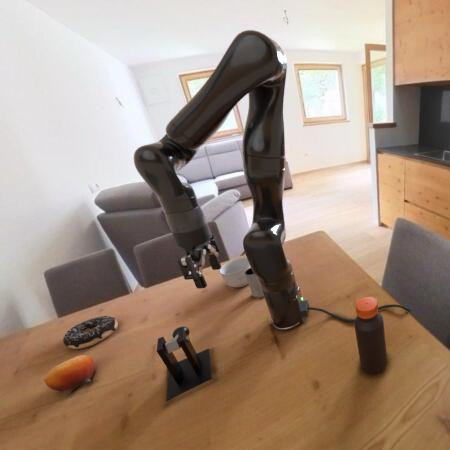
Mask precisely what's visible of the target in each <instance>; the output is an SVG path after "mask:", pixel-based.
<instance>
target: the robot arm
mask: <svg viewBox="0 0 450 450" xmlns="http://www.w3.org/2000/svg"><path fill="white" fill-rule="evenodd" d="M287 71H288V61H287V58H286V54H285V52H284V50H283V48H282V47H281V45H279V44H278V42H277V41H275V40H273V39H272V38H271V37H270V36H268V35H266V34H265V33H263V32H261V31H258V30H255V29H247V30H243V31H241V32H239V33H238V34H237V35H235V37H234V38H233V39H232V41H231V43H230V44H229V46H228V47H227V49H226V50H225V53H224V54H223V55H222V58H220V61H219V62H218V64H217V65H216V67H215V68H214V70H213V72H212V73H211V74H210V76H209V77H208V78H207V80H206V81H205V82H204V84H203V85H202V86H201V87H200V89H199V90H197V92H196V93H195V94H194V95H193V96H192V97H191V99H190V100H189V101H187V103H186V104H184V106H183V107H182V108H181V109H180V110H178V112H177V113H176V114H175V115H174V116H173V118H171V119H170V121H168V123H167V124H166V127H165V134H164V136H162V138H160V139H159V140H158V141H156V142H152V143H147V144H144V145H141V146H139V147H137V148H136V149H135V151H134V152H133V164H134V167H135V169H136V171H137V173H138V174H139V175H140V177H141V178H142V179H143V181H144V182H145V183H146V184H147V186H148V187H149V188H150V190H152V192H153V193H154V194H155V195H156V196H157V199H158V201H159V204H160V206H161V208H162V211H163V212H164V217H165V220H166V223H167V226H168V228H169V229H170V232H171V234H172V237H173V239H174V241H175V243H176V246H178V247H179V248H180V249H183V250H184V256H183V257H178V258H177V263H178V266H179V269H180V272H181V273H182V276H183V278H184V280H185V281H189V280H193V284H194V285H195V287H196V288H197V289H198V290H199V289H200V290H201V289H206V288H207V287H208V283H207V281H206V279H205V276H204V274H203V268H204V267H205V266H206V260H207V259H208V262H209V264H210V267H211V269H212V270H213V271H216V270H220V268H221V267H222V264H221V262H220V260H219V259H220V258H219V256H220V252H221V251H222V249H221V246H220V244H219V241H218V239H217V236H216V233H213V232H212V231H211V228H210V226H209V223H208V221H207V218H206V215H205V213H204V211H203V208H201V205H200V202H199V200H198V198H197V194H196V192H195V189H194V187H193V186H192V185H191V184H190V183H189V182H185V181H182V180H181V179H180V178H179V176H178V175H177V172H179V171H181V170H182V169H184V168H185V167H187V165H189V164H190V162H192V160H193V159H194V157H195V156H196V154H197V153H198V152H199V150H200V148H201V147H203V146H204V145H205V144H206V143H207V142H209V140H210V139H211V138H212V137H213V136H214V135H215V134H216V133H217V132H218V131H219V130H220V129H221V128H222V126H223V125H224V123H225V122H226V121H227V119H228V117H229V115H230V114H231V112H232V111H233V109H235V107H236V105H238V103H240V101H242V99H243V98H244V97H246V96H247V95H248V110H247V115H246V121H245V123H244V124H245V125H244V129H243V134H242V141H241V155H242V169H243V175H244V179H245V181H246V184H247V187H248V189H249V192H250V194H251V198H252V222H251V225H250V227H249V229H248V230H247V232H246V233H245V235H244V237H243V239H242V246H243V247H242V248H243V250H244V251H243V252H244V254H245V255H246V257H247V259H248V262H249V264H250V267H251V269H252V271H253V273H254V274H255V275H256V276H257V277H258V280H259V283H260V286H261V289H262V292H263V295H264V297H263V298H264V301H265V303H266V307H267V310H268V313H269V318H270V320H271V321H272V325H273V327H274V328H275V329H276V330H278V331H288V330H291V329H294V328H297V326H299V325H301V324H304V323H305V318H307V317H309V311H318V312H321V313H324V314H326V315H328V316H330V317H333V318H336V319H338V320H341V321H344V322H349V323H354V321H355V318H345V317H343V316H339V315H337V314H334V313H332V312H330V311H328V310H326V309H324V308H320V307H314V306H313V307H312V306H310V304H309V300H308V299H306V300H304V298H303V295H302V292H301V288H300V286H298V284H297V280H296V277H295V272H294V269H293V265H292V262H291V260H289V259H288V258H287V257H286V255H285V251H284V247H283V245H284V243H285V240H286V238H287V237H286V236H287V230H286V223H285V213H284V191H285V181H286V180H285V179H286V178H285V177H286V140H285V139H286V137H285V121H284V101H285V100H284V99H285V89H286V81H287V73H288V72H287ZM213 246H215V247H213ZM194 263H195V264H194ZM386 308H387V309H388V308H400V309H403V310H405V311H407V312H409V313H410V312H411V311H412V310H411V309H409V308H408V307H406V306H404V305H402V304H395V303H394V304H385V305H381V306H378V311H380V310H381V309H386Z"/></svg>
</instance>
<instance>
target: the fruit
mask: <svg viewBox="0 0 450 450" xmlns="http://www.w3.org/2000/svg"><path fill="white" fill-rule="evenodd" d="M94 370H95V363H94V359H93V357H92V356H90V355H85V354H83V355H77V356H74V357H72V358H70V359H67V360H65V361H62V362H61V363H59V364H58V365H56V366H54V367H53V368H51V370H49V372H48V373H47V374H46V375H45V377H44V378H43V382H44V383H45V385H46V386H47V387H48V388H49V389H51V390H52V391H55V392H59V393H61V394H62V393H67V394H68V393H69V394H71V393H72V392H73V390H75V388H77V387H79V386H81V385H83V384H85V383H93V381H92V380H91V378H92V377H93V374H94Z"/></svg>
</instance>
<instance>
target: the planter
mask: <svg viewBox="0 0 450 450" xmlns="http://www.w3.org/2000/svg"><path fill="white" fill-rule="evenodd" d="M245 275H246V278H247V281H248V284H247V285H248V287H249V290H250V292H251V295H252V297H254V298H258V299H259V300H260V299H263V298H264V295H263V292H262V289H261V286H260V283H259V280H258V277H257V276H256V275H255V274H254V273H253V271H252V269H251V268H249V269H248V270H246V271H245Z"/></svg>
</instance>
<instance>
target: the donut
mask: <svg viewBox="0 0 450 450" xmlns="http://www.w3.org/2000/svg"><path fill="white" fill-rule="evenodd" d="M118 326H119V323H118V321H117V320H116V317H113V316H110V315H101V316H95V317H92V318H89V319H87V320H85V321H82V322H80V323H77V324H75V325H74V326H72V327H71V328H69V330H67V331H66V332H65V333H64V336H63V339H62V340H63V344H64V346H66V348H69V349H73V350H80V349H85V348H89V347H92V346H94V345H96V344H98V343H100V342H102V341H104V340H105V339H107V338H108V337H110V336H111V335H112V334H113V333H115V331H116V330H117V329H118Z"/></svg>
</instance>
